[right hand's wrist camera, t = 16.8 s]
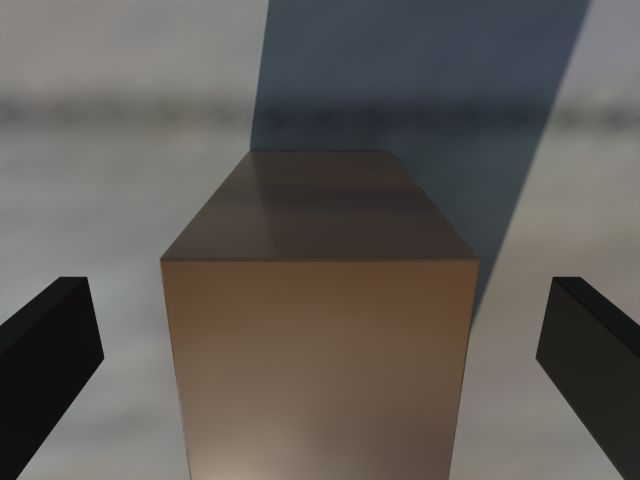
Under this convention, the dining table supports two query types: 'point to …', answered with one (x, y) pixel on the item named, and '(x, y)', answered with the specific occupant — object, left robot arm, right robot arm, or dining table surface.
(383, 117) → the dining table surface
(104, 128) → the dining table surface
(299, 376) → the bar
